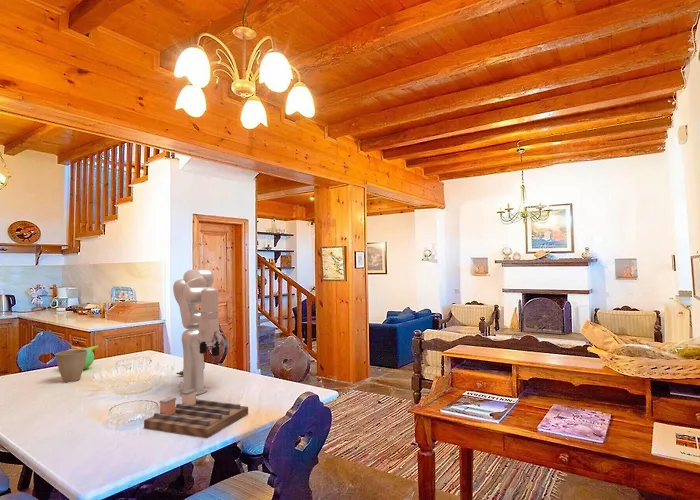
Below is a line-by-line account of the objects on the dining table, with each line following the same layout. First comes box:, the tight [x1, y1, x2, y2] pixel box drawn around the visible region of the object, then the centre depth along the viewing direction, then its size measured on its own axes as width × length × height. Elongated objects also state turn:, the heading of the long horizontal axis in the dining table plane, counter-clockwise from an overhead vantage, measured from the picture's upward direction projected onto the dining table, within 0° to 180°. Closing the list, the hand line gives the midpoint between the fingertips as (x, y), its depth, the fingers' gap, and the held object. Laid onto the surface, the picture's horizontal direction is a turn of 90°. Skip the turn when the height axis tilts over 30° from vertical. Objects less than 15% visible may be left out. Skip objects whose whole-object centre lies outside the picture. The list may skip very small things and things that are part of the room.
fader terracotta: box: [158, 396, 177, 415], centre depth 166 cm, size 3×5×6 cm, turn 160°
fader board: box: [143, 398, 249, 439], centre depth 168 cm, size 30×26×5 cm
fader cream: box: [180, 389, 197, 405], centre depth 177 cm, size 3×5×6 cm, turn 160°
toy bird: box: [66, 345, 99, 370], centre depth 258 cm, size 18×17×15 cm
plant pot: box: [55, 349, 87, 383], centre depth 232 cm, size 15×15×16 cm
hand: (209, 354), depth 184 cm, fingers open, 9 cm apart
